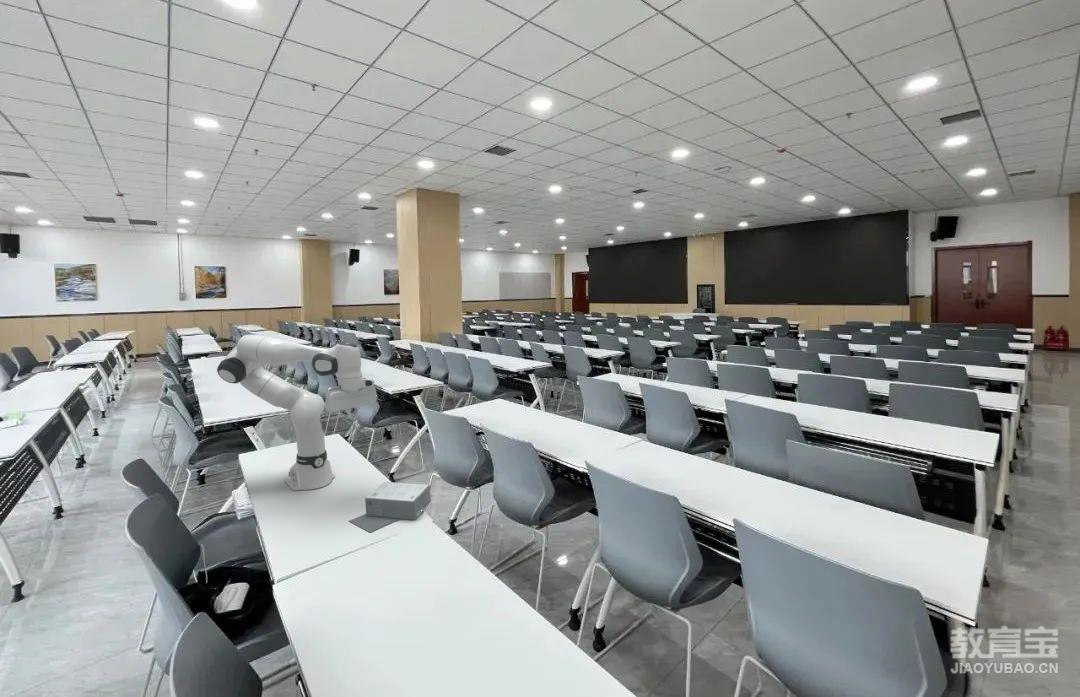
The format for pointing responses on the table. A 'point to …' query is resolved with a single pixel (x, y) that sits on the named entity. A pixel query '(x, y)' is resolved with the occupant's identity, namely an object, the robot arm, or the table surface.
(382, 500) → the hard drive box
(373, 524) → the mat
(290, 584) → the table surface
